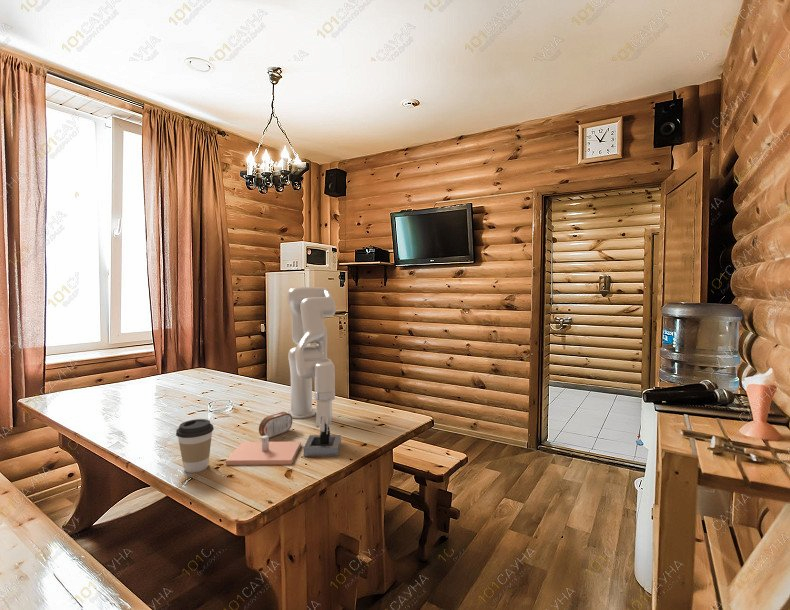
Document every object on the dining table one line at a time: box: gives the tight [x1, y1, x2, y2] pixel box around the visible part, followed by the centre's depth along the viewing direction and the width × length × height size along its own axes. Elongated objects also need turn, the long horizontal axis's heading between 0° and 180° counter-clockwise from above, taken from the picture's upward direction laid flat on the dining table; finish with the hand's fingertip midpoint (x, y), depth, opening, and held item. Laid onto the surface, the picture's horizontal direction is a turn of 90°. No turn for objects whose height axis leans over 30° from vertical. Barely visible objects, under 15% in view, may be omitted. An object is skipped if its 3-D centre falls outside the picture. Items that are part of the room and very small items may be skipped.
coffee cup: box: [175, 418, 214, 473], centre depth 138 cm, size 11×11×15 cm
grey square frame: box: [303, 434, 342, 457], centre depth 154 cm, size 12×12×3 cm
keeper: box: [225, 436, 302, 466], centre depth 149 cm, size 16×22×7 cm
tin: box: [258, 411, 293, 439], centre depth 168 cm, size 15×3×8 cm, turn 144°
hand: (325, 442), depth 159 cm, fingers closed on grey square frame, 2 cm apart
